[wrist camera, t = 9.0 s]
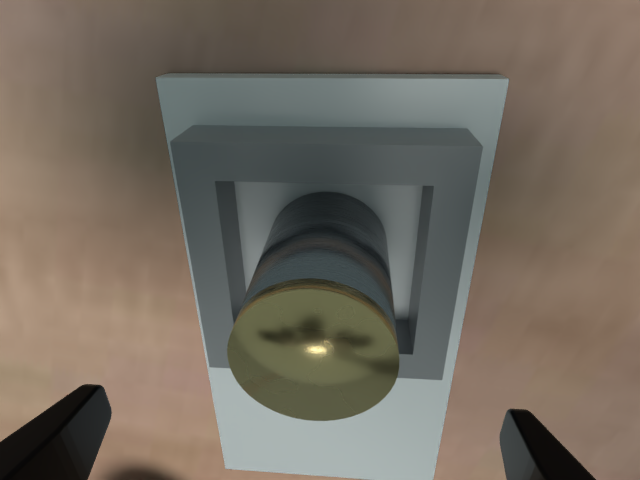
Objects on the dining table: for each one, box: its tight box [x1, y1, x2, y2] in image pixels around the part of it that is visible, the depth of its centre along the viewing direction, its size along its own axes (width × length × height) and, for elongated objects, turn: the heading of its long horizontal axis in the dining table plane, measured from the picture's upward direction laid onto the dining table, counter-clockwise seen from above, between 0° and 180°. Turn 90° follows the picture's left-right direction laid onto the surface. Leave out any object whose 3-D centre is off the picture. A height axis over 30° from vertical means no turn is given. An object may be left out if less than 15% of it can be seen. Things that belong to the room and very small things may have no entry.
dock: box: [156, 73, 509, 480], centre depth 18 cm, size 11×20×3 cm, turn 1°
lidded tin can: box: [227, 191, 399, 421], centre depth 14 cm, size 4×4×6 cm
